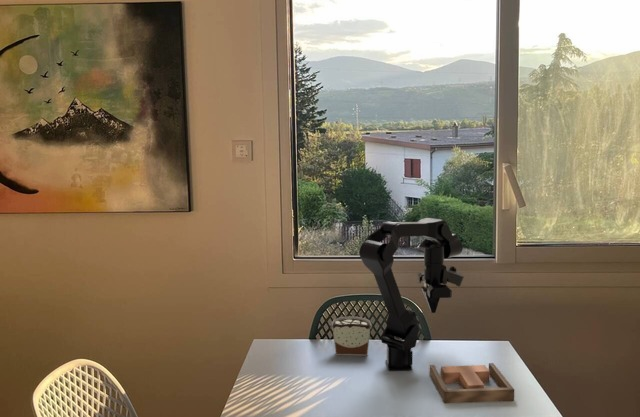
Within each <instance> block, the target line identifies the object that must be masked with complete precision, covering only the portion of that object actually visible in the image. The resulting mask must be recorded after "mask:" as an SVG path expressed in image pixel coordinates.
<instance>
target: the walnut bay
mask: <svg viewBox="0 0 640 417" xmlns="http://www.w3.org/2000/svg"><path fill="white" fill-rule="evenodd" d="M488 370H489V371H490V377H491V379H492V380H493V381H494V383H495V384H496V386H497V387H486V388H485V387H484V388H478V389H463V388H453V389H452V388H451V389H450V388H449V389H448V387H447V385H446V383H444V382H443V380H442V378H441V374H440V373H439V371H438V370H437V368H436V366H435V364H429V377H430V379H431V381H432V382H433V385H434V387H435V389H436V391H437V393H438V394H439V396H440V398H441V400H442V402H443V404H455V403H456V404H463V403H464V404H465V403H466V404H467V403H469V404H470V403H490V402H491V403H493V402H494V403H495V402H514V401H515V388H514V387H513V386H512V385H511V383H510V382H509V381H508V380H507V379H506V377H505V376H504V375H503V373H502V371H500V370H499V368H498V367H497V366H496V364H494V362H489V363H488Z"/></svg>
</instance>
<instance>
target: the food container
mask: <svg viewBox="0 0 640 417" xmlns="http://www.w3.org/2000/svg"><path fill="white" fill-rule="evenodd" d="M330 329H332V332H333V334H332V335H333V342H334V350H335V355H336V356H366V355H367V356H368V355H369V354H368V353H369V345H370V344H369V343H370V334H371V329H373V324H372V323H371V321H370V319H367V318H364V317H361V316H342V317H338V318H335V319H334V320H333V321H332V322H331V324H330Z"/></svg>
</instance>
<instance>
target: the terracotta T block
mask: <svg viewBox="0 0 640 417" xmlns="http://www.w3.org/2000/svg"><path fill="white" fill-rule="evenodd" d="M440 376H441V378H442V380H443V382H444V383H445V384H459V385H460V386H461V389H478V388H485V384H484V383H489V382H490V377H491V376H490V371H489V367H487V366H486V365H485V364H480V365H479V364H475V365H473V364H472V365H450V366H449V365H448V366H447V365H445V366H440Z"/></svg>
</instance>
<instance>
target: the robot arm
mask: <svg viewBox="0 0 640 417" xmlns="http://www.w3.org/2000/svg"><path fill="white" fill-rule="evenodd" d="M388 237H390V240H389V241H388V243H385V242H383V240H386V238H388ZM403 237H423V238H425V239H423V241H422V242H420V244H419V247H420V248H422V249H423V259H424V260H423V262H422V268H423V271H420V272H419V273H417V277H416V280H417V282H418V283H419V284H421V283H423V286H421V288H420V289H421V291H422V293H423V296H424V298H425V300H426V302H427V305H428V308H429V310H430V312H431V313H432V314H435V313H436V312H437V307H438V305H439V301H440V299H442V298H443V299H445V298H447V299H449V298H450V299H451V298H452V297H453V296H452V289H451V288H450V287H449V286H448V285H447V283H449V284H454V285H456V287H461V285H462V283H463V280H464V277H465V276H464V275H463V274H462V273H461V272H459V271H457V268H456V267H455V266H453V265H449V266H448V267H447V266H446V265H445V259H449V258H453V257H456V256H457V257H458V256H459V255H461V253H462V252H463V248H464V246H463V243H462V242H461V240H460V239H459V237H458V234H457V233H452V231H451V229H450V227H449V225H448V222H447V221H446V220H445V219H439V218H432V217H425V218H421V219H419V220H418V221H407V222H406V221H394V222H393V221H385V222H383V224H382V225H380V227H379V228H378V229H376V230H375V231H374V232H372V233H371V234H369V235H368V236H367V238H366V239H365V240H364V241H363V243H362V244H361V245H360V247H359V251H358V254H359V258H360V259H361V261H362V263H363V264H364V266H365V267H366V268H367V269H368V270H369V271H370V272H371V273H372V274H373V276H374V278H375V282H376V284H377V286H378V290H379V292H380V295H381V297H382V301H383V303H384V305H385V308H386V310H387V318H386V326H385V328H384V331H383V332H382V334H381V335H380V339H381V343H382V344H385V345H386V359H385V364H386V366H387V369H388V370H389V371H408V370H409V371H411V370H412V369H413V367H412V366H413V350H412V349H414V348H415V347H416V345H417V341H418V336H419V333H420V327H419V324H420V321H419V319H418V318H417V314H416V312H415V310H411V309H407V307H406V306H405V304H404V300H403V298H402V294H401V292H400V289H399V286H398V283H397V282H396V278H395V276H394V273H393V269H392V267H393V265H394V264H393V263H394V261H395V260H394V254H396V252H397V250H398V248H399V241H400V239H401V238H403ZM426 238H427V239H426ZM431 239H432V240H431Z"/></svg>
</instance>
